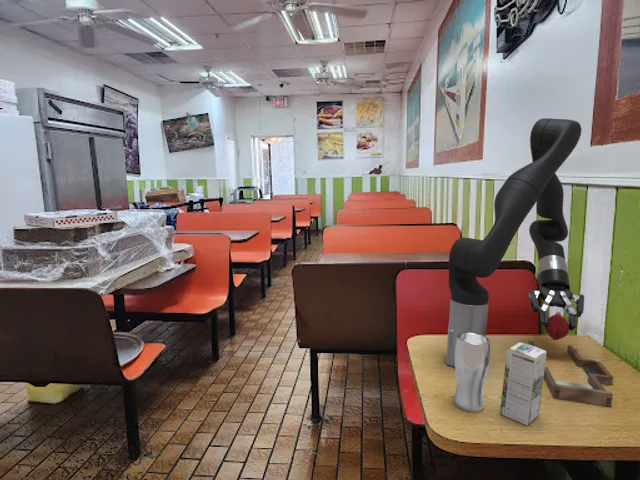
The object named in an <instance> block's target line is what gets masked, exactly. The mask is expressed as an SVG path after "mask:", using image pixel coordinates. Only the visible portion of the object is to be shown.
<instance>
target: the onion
mask: <svg viewBox="0 0 640 480" xmlns="http://www.w3.org/2000/svg"><path fill="white" fill-rule="evenodd" d="M544 330H545V332H546V333H547V335H548V336H549V337H550V338H551V339H552V340H553V341H558V340H561V339H563V338H565V337H566V336H568V334H569V331H570V329H569V322H568V319H566V318H565V317H564V316H562V313H561V312H560V311H556V312H555V314H553V315H551V316H549V317H548V325H547V327H544Z"/></svg>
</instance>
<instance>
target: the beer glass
mask: <svg viewBox="0 0 640 480" xmlns="http://www.w3.org/2000/svg"><path fill="white" fill-rule="evenodd" d="M490 361H491V340H490V338H489V337H487V336H483V335H481V334H476V333H460V334H458V335H457V341H456V347H455V367H454V369H455V370H454V371H455V372H454V373H455V379H456V380H455V381H456V389H455V393H454V397H453V403H454V406H455V407H458V408H459V409H460V410H463V411H465V412H469V413H477V412H480V411H482V410H483V409H484V399H483V398H484V397H483V390H484V385H485V382H486V379H487V375H488V373H489V368H490Z"/></svg>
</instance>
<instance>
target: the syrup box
mask: <svg viewBox="0 0 640 480" xmlns="http://www.w3.org/2000/svg"><path fill="white" fill-rule="evenodd" d="M546 359H547V351H546V350H544V349H542V348H539V347H537V346H536V347H534V346H531V345H529V343H528V344H527V343H524V342H517V343H516V344H515V345H513V346H510V347H509V348H508V349H506V356H505V364H504V365H505V366H504V374H503V380H502V381H503V383H502V391H501V392H502V393H501V401H500V410H499V414H500V415H502V416H504V417H506V418H508V419H511V420H513V421H516V422H518V423H519V424H523V425H525V426H527V427H528V426H530V424H531V423H533V421H535V419H537V417H539V416H540V410H541V409H540V408H541V400H542V394H543V393H542V392H543V391H542V390H543V384H544V369H545V367H546Z"/></svg>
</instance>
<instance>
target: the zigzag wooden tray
mask: <svg viewBox="0 0 640 480" xmlns="http://www.w3.org/2000/svg"><path fill="white" fill-rule="evenodd" d="M528 345H531V346H534V347H537V345H536V343H535V342H534V340H528ZM566 351H567V353H568V355H569V357H571V359H572V361H573V362H574V363H575V365H576V366H577V367H579V368H582V369H583V370H584V372H585V374H587V382H588V383H589V384H582V383H575V382H570V381H569V382H568V381H563V380H555V379H554V377H553V375H552V373H551V371H550V369H549V368H548V366H545V369H544V378H543V380H544V381H545V384H546V385H547V387H548V389H549V391H550V392H551V396H552V397H553V399H558V400H562V401H568V402H575V401H576V403H582V402H584V403H583V404H588V403H591V404H590V405H594V404H598V405H597V406H601V405H603V406H602V407H607V406H608V408H612V403H613V392H612V391H607V390H606V388H605V387H604V386H609V385H610V386H613V383H614V382H613V381H614V376H613V375H612V374H611V373H610V372H609V370H608V369H607V368H606V367H605V366H604V364H603V363H602V362H601V361H599V360H595V359H589V358H582V357H581V355H580V354H579V353H578V352H577V350H576V348H575V347H574V346H573V345H571V344H570V345H569V344H568V345H567V350H566Z"/></svg>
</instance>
